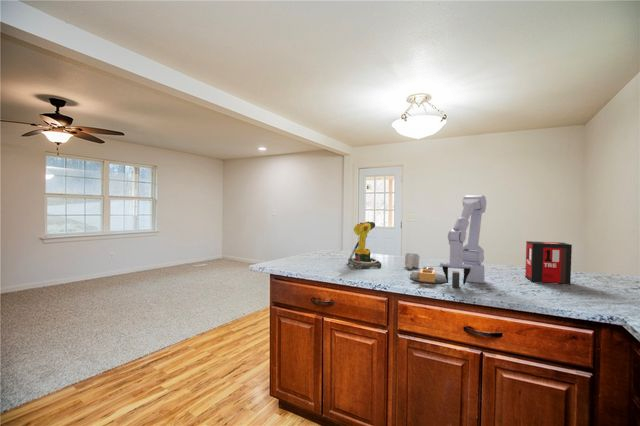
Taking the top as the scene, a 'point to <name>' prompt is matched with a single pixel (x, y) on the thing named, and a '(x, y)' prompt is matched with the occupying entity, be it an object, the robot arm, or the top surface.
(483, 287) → the top surface
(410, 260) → the grey rounded block
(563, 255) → the cleaning product box
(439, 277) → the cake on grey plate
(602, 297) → the top surface
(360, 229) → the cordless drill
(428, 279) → the bracket
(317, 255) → the top surface
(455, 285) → the wedge
